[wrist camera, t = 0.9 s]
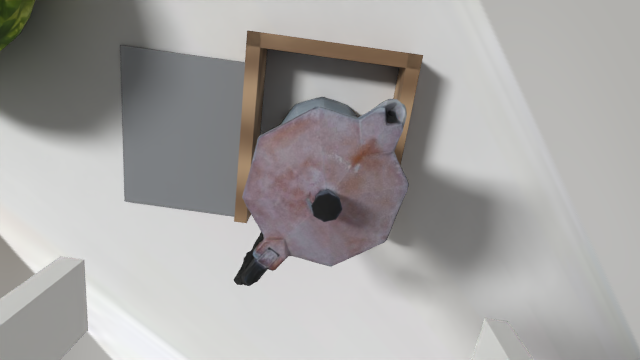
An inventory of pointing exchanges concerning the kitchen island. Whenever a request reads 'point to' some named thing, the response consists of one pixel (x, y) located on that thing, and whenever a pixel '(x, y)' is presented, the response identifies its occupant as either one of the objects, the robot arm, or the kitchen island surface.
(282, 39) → the brown wooden frame
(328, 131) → the moka pot
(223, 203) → the mat
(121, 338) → the kitchen island surface
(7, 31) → the lettuce
